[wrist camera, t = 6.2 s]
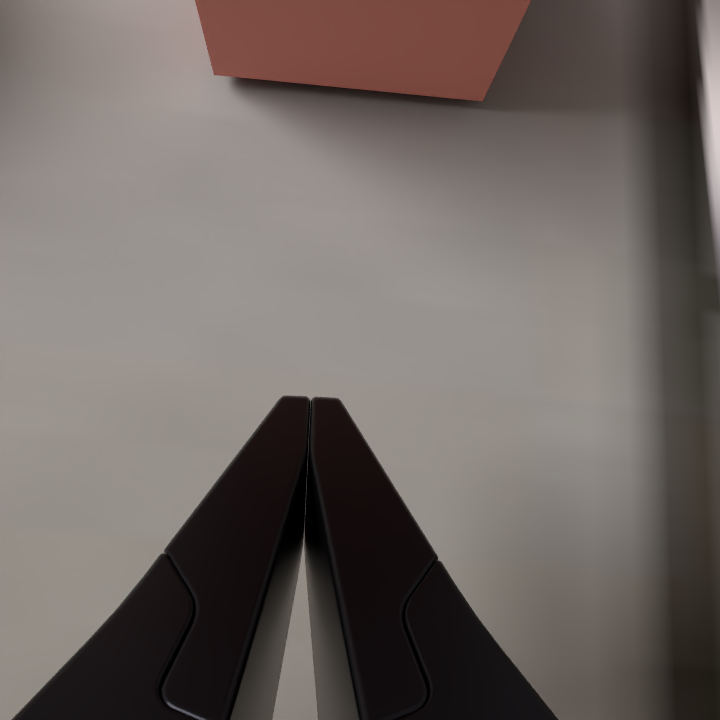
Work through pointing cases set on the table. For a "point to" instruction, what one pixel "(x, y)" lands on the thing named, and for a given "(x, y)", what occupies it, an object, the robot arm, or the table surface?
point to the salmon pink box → (364, 42)
